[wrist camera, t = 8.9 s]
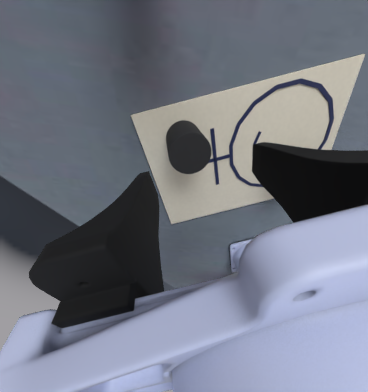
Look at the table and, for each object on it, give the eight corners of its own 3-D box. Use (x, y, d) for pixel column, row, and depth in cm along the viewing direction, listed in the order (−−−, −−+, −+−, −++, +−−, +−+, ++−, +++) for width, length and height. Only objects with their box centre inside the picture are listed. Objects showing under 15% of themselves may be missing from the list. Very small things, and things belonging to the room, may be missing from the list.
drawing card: (316, 186, 24) (318, 187, 24) (171, 222, 24) (171, 224, 24) (362, 54, 15) (366, 53, 15) (131, 114, 15) (130, 115, 15)
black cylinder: (202, 150, 18) (213, 168, 14) (170, 158, 18) (174, 178, 15) (197, 115, 16) (209, 127, 12) (161, 125, 16) (163, 139, 12)
